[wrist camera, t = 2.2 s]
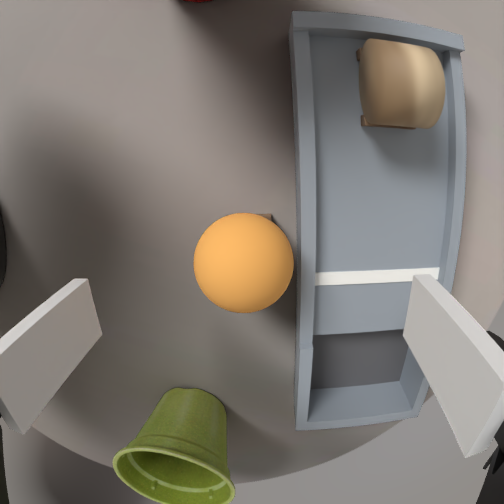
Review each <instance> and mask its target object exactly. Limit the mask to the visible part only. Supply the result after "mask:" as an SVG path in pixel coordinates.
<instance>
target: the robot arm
mask: <svg viewBox="0 0 504 504" xmlns="http://www.w3.org/2000/svg"><path fill="white" fill-rule="evenodd" d="M5 267H6V244H5V235H4V229H3V223H2V219H1V215H0V287H1V284H2V282H3V278H4V274H5ZM101 336H102V331H101V327H100V324H99V320H98V316H97V313H96V309H95V305H94V301H93V297H92V293H91V289H90V285H89V281H88V279H73V280H72V281H71V282H69V283H68V284H67V285H65V286H64V287H63V288H61V289H60V290H59V291H58V292H56V293H55V294H54V295H52V296H51V297H50V298H49V299H47V300H46V301H45V302H44V303H42V304H41V305H40V306H39V307H37V308H36V309H35V310H34V311H32V312H31V313H30V314H29V315H28V316H26V317H25V318H24V319H23V320H21V321H20V322H19V323H18V324H17V325H16V326H14V327H13V328H12V329H11V330H10V331H8V332H7V333H6V334H5V335H4V336H3V337H2V338H0V418H1V416H2V417H3V419H4V421H5V422H6V423H7V425H8V427H9V428H10V429H12V430H14V431H16V432H18V433H20V434H23V435H25V433H26V432H27V431H28V429H29V428H30V427H31V425H32V424H33V422H34V421H35V420H36V418H37V417H38V416H39V414H40V413H41V412H42V410H43V409H44V408H45V406H46V405H47V404H48V402H49V401H50V400H51V398H52V397H53V396H54V394H55V393H56V392H57V391H58V389H59V388H60V387H61V385H62V384H63V383H64V382H65V380H66V379H67V378H68V376H69V375H70V374H71V373H72V371H73V370H74V369H75V368H76V366H77V365H78V364H79V363H80V361H81V360H82V359H83V358H84V356H85V355H86V354H87V353H88V351H89V350H90V349H91V348H92V347H93V345H94V344H95V343H96V342H97V341H98V339H99V338H100V337H101ZM403 337H404V339H405V340H406V342H407V344H408V346H409V348H410V349H411V351H412V353H413V355H414V357H415V358H416V360H417V362H418V364H419V366H420V368H421V369H422V371H423V373H424V375H425V377H426V379H427V381H428V383H429V385H430V387H431V388H432V390H433V392H434V394H435V396H436V398H437V400H438V402H439V404H440V406H441V408H442V410H443V412H444V414H445V416H446V418H447V420H448V423H449V425H450V426H451V429H452V431H453V433H454V435H455V437H456V439H457V442H458V444H459V446H460V448H461V451H462V453H463V455H464V457H465V458H466V457H469V456H472V455H475V454H478V453H481V452H484V451H485V450H486V449H487V448H488V446H489V444H490V443H491V441H492V440H493V438H495V440H496V441H497V443H498V447H497V448H496V450H495V451H494V452H493V454H492V456H491V457H490V458H489V459H488V461H487V462H486V464H485V465H484V467H483V469H486V468H487V467H488V465H489V464H490V467H489V470H488V473H487V476H486V478H485V482H484V484H483V487H482V490H481V492H480V495H479V497H478V500H477V502H476V504H504V341H503V340H502V339H501V338H500V337H499V336H497V335H495V334H494V333H492V332H490V331H485V330H484V329H483V328H482V327H481V326H480V324H479V323H478V322H477V321H476V320H475V319H474V318H473V317H472V316H471V315H470V314H469V313H468V312H467V311H466V310H465V309H464V307H463V306H462V305H461V304H460V303H459V302H458V301H457V300H456V299H455V298H454V297H453V296H452V295H451V294H450V293H449V292H448V291H447V290H446V289H445V288H444V287H443V286H442V285H441V284H440V283H439V282H438V281H437V280H436V279H435V278H434V277H433V276H432V275H430V274H419V275H413V280H412V287H411V293H410V299H409V305H408V311H407V316H406V321H405V326H404V331H403ZM0 504H9V499H8V493H7V486H6V478H5V468H4V457H3V443H2V429H1V425H0Z"/></svg>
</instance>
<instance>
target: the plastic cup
mask: <svg viewBox="0 0 504 504" xmlns="http://www.w3.org/2000/svg"><path fill="white" fill-rule="evenodd" d="M183 1H191V2H205V1H211V0H183Z"/></svg>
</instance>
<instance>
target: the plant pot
mask: <svg viewBox="0 0 504 504" xmlns="http://www.w3.org/2000/svg"><path fill="white" fill-rule="evenodd" d="M113 467H114V470H115V472H116V473H117V475H118V477H119V478H120V479H121V480H122V481H123V482H124V483H125V484H127V485H128V486H129V487H130V488H132V489H133V490H135V491H136V492H138V493H139V494H141V495H143V496H145V497H147V498H149V499H151V500H154V501H156V502H159V503H162V504H229V503H230V502H231V501H232V500H233V498H234V497H235V487H234V484H233V482H232V481H231V480H230V472H229V469H228V467H227V416H226V412H225V409H224V406H223V404H222V403H221V402H220V401H219V400H218V399H217V398H216V397H214V396H213V395H211V394H209V393H207V392H205V391H203V390H200V389H196V388H193V389H182V388H174V389H171V390H169V391H167V392H166V393H165V394H164V395H163V397H162V398H161V400H160V401H159V403H158V404H157V406H156V407H155V409H154V411H153V412H152V414H151V415H150V417H149V418H148V420H147V422H146V423H145V424H144V426H143V427H142V429H141V431H140V432H139V434H138V435H137V436H136V438H135V439H134V440H133V441H131V442H130V443H129V444H128V445H127V447H126V448H123V449H121V450H119V451H118V452H117V453H116V455H115V456H114V458H113Z"/></svg>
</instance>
